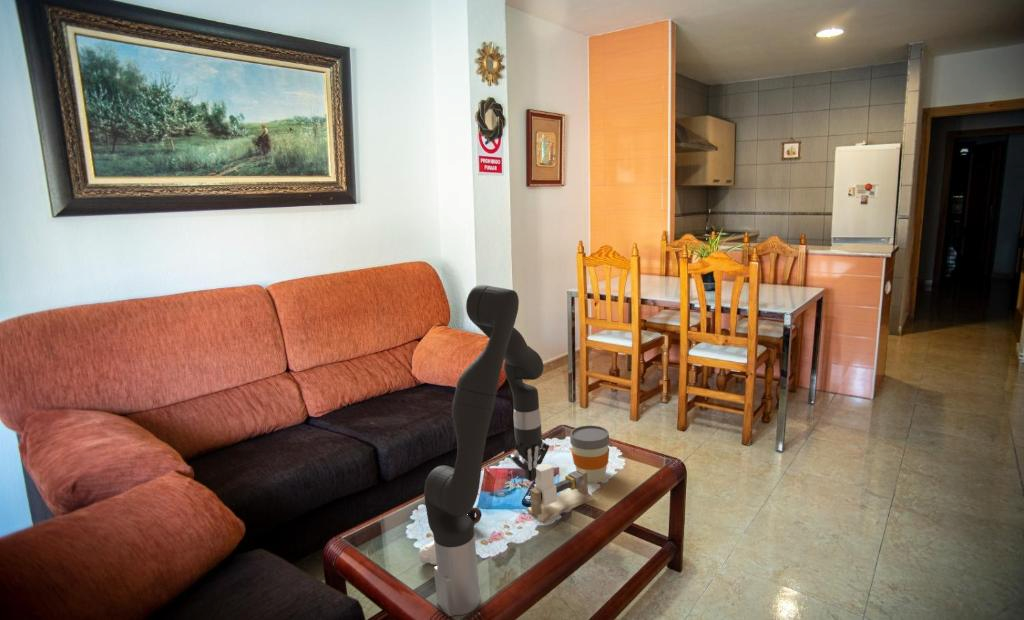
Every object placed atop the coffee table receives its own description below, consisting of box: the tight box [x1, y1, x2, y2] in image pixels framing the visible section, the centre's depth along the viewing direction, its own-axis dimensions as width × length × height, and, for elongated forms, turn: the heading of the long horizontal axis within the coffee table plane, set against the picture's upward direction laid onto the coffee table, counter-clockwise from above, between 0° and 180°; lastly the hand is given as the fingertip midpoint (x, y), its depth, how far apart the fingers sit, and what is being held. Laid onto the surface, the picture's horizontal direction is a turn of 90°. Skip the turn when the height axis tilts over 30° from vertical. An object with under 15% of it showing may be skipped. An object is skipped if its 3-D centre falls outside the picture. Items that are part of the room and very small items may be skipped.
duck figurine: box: [417, 531, 437, 566], centre depth 155 cm, size 12×8×11 cm
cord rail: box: [526, 469, 594, 523], centre depth 178 cm, size 19×7×8 cm, turn 124°
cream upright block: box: [533, 463, 558, 506], centre depth 174 cm, size 4×5×10 cm
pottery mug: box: [468, 507, 483, 526], centre depth 172 cm, size 12×10×8 cm
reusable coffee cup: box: [569, 424, 611, 484], centre depth 193 cm, size 13×13×15 cm
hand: (531, 479), depth 171 cm, fingers closed
